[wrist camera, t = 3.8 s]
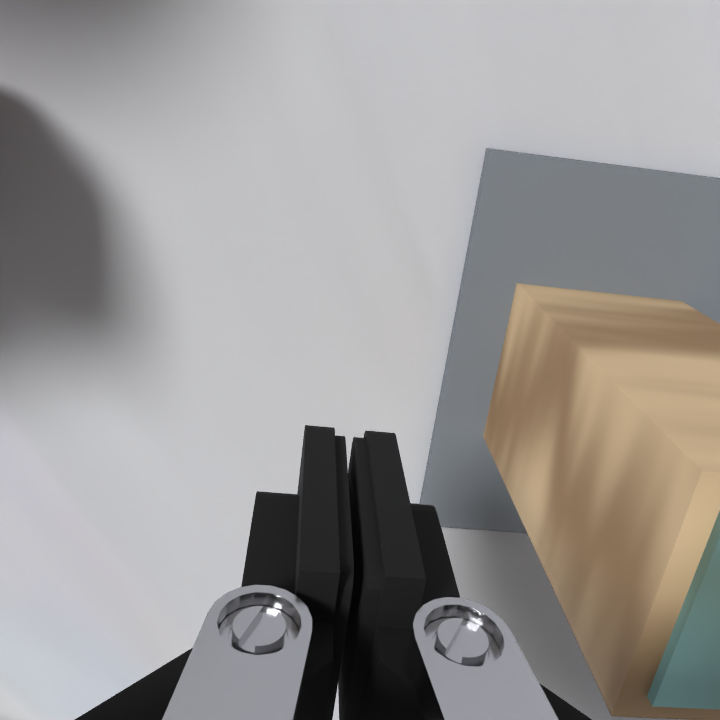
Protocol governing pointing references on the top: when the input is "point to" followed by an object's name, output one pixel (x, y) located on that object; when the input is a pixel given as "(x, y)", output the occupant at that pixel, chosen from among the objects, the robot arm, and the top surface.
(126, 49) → the top surface
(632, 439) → the oak block
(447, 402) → the mat
